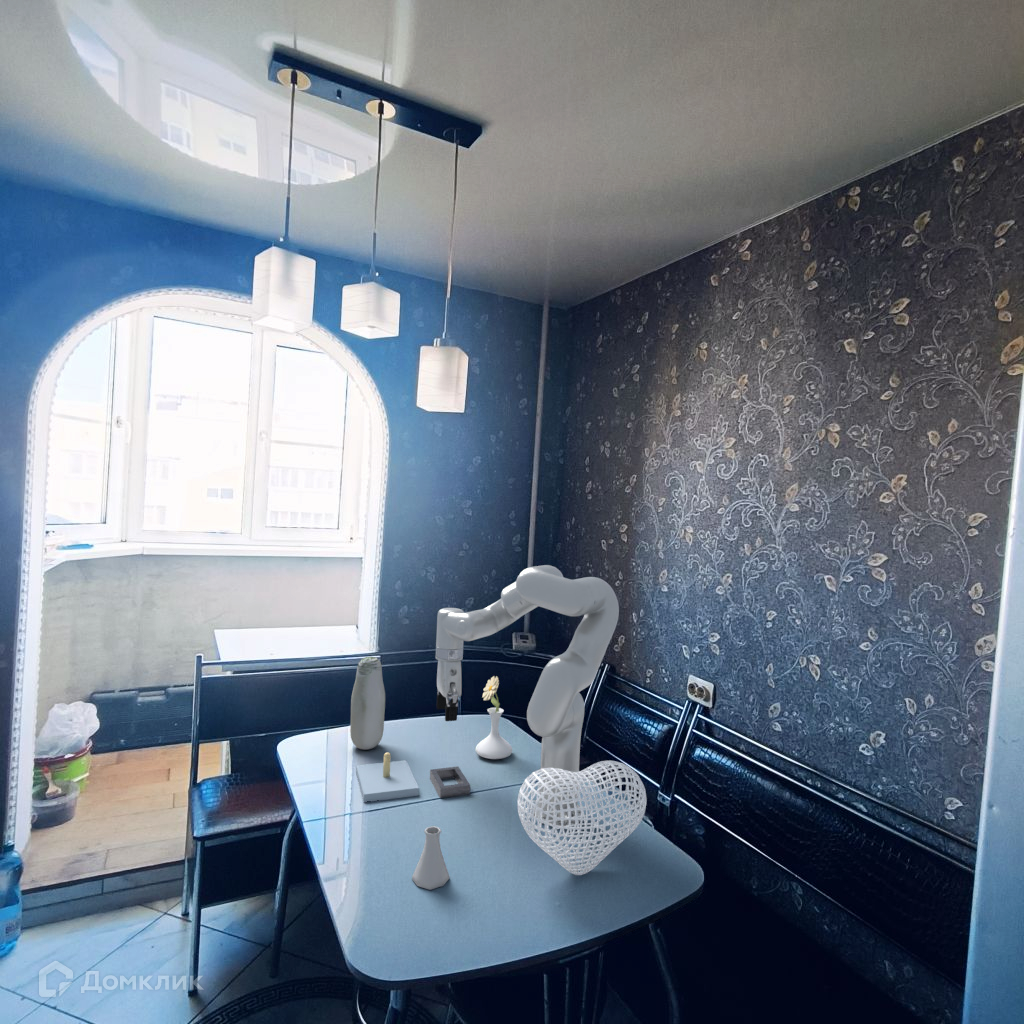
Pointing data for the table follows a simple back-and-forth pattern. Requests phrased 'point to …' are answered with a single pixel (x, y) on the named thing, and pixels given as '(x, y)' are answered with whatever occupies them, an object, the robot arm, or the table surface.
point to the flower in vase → (493, 727)
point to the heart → (581, 777)
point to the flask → (431, 862)
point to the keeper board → (386, 780)
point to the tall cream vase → (367, 704)
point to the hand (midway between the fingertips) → (446, 714)
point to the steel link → (449, 790)
